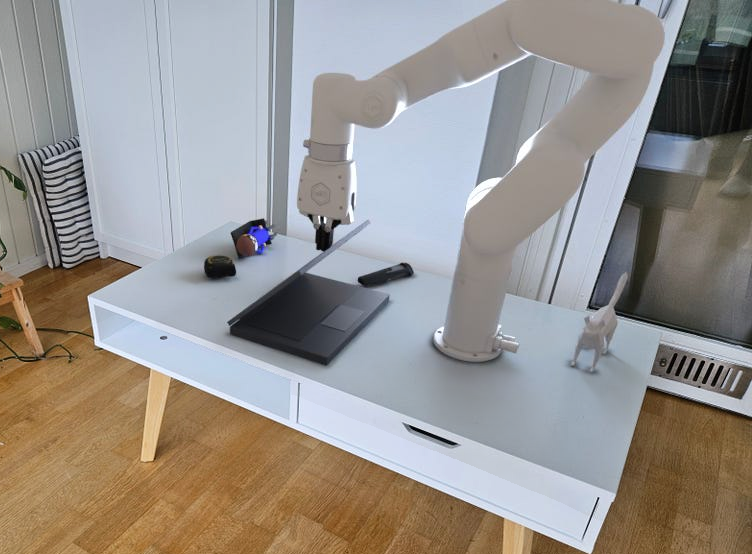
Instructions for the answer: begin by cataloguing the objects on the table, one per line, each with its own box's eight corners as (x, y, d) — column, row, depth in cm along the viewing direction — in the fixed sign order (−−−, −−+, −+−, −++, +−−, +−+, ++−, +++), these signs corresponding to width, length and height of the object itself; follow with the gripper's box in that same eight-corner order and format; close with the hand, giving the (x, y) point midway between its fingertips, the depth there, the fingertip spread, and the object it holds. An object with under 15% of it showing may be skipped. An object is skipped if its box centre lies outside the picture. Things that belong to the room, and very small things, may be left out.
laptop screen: (371, 223, 130) (368, 219, 130) (301, 275, 108) (298, 270, 108) (303, 271, 145) (300, 268, 144) (229, 326, 123) (226, 322, 123)
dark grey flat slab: (388, 301, 137) (389, 293, 136) (326, 366, 115) (327, 357, 114) (302, 278, 145) (303, 271, 144) (229, 334, 124) (229, 326, 123)
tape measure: (206, 282, 143) (205, 267, 141) (202, 270, 149) (202, 255, 146) (236, 280, 144) (236, 265, 142) (231, 267, 150) (231, 253, 148)
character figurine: (280, 246, 162) (249, 267, 151) (256, 238, 165) (224, 258, 154) (283, 217, 158) (251, 236, 147) (258, 209, 161) (225, 228, 150)
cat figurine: (561, 374, 114) (583, 305, 106) (592, 332, 127) (614, 267, 119) (587, 384, 111) (611, 313, 104) (616, 339, 125) (640, 273, 117)
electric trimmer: (352, 286, 143) (353, 273, 142) (403, 270, 150) (405, 258, 149) (363, 292, 141) (364, 279, 139) (414, 276, 148) (416, 263, 146)
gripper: (283, 148, 112) (279, 246, 122) (361, 162, 106) (350, 264, 115) (303, 140, 117) (298, 234, 127) (378, 152, 111) (367, 250, 121)
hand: (323, 248), depth 121 cm, fingers closed
